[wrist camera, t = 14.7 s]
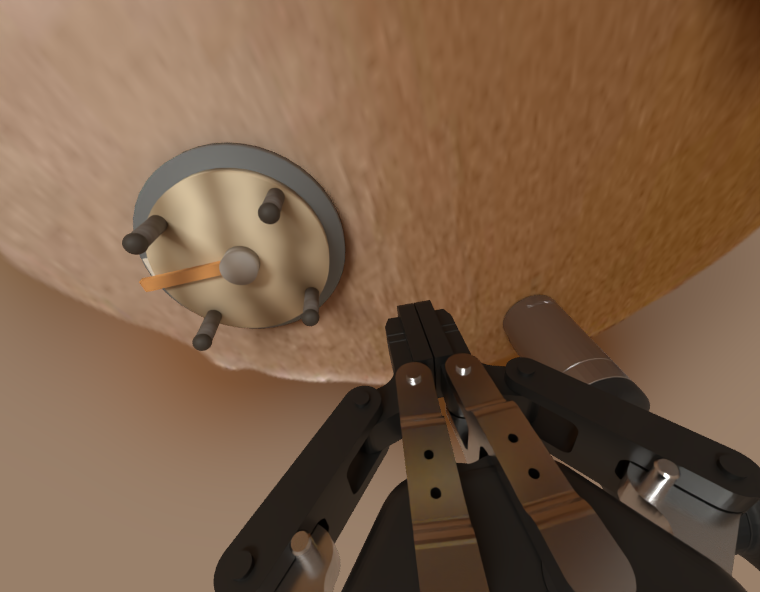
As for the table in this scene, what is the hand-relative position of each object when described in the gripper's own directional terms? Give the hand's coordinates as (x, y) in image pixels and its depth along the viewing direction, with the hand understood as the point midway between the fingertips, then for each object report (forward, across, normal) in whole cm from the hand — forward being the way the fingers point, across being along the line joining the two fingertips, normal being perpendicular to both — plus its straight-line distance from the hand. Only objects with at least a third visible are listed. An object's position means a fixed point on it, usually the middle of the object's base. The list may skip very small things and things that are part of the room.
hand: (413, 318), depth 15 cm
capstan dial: (+26, +16, +7) cm, 32 cm away
